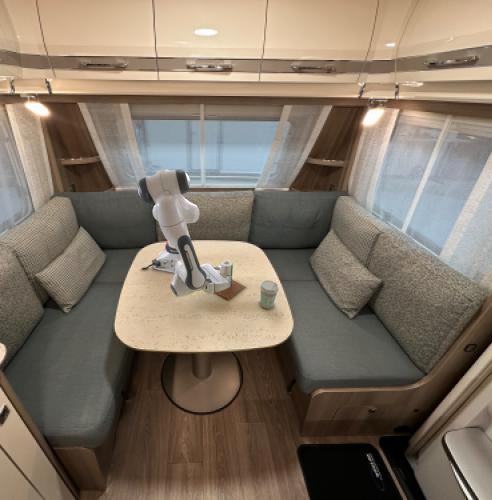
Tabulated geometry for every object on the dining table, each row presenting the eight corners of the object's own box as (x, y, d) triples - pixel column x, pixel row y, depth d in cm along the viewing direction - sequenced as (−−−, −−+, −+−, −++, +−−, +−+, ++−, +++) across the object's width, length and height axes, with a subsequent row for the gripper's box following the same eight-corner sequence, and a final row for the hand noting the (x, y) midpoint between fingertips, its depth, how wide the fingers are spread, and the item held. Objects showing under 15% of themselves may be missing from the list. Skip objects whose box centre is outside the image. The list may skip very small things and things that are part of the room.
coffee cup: (264, 313, 125) (267, 293, 119) (254, 301, 132) (256, 282, 126) (279, 307, 128) (282, 288, 122) (269, 297, 135) (271, 278, 129)
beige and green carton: (219, 287, 140) (219, 265, 133) (220, 281, 146) (221, 259, 138) (231, 288, 140) (232, 266, 132) (232, 282, 145) (233, 260, 138)
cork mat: (202, 285, 144) (202, 284, 143) (219, 274, 152) (219, 273, 152) (228, 300, 133) (228, 299, 132) (245, 287, 142) (245, 286, 141)
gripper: (192, 274, 142) (214, 267, 148) (212, 296, 127) (236, 287, 132) (192, 264, 139) (215, 257, 145) (212, 285, 123) (237, 277, 129)
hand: (225, 272), depth 138 cm, fingers open, 8 cm apart
